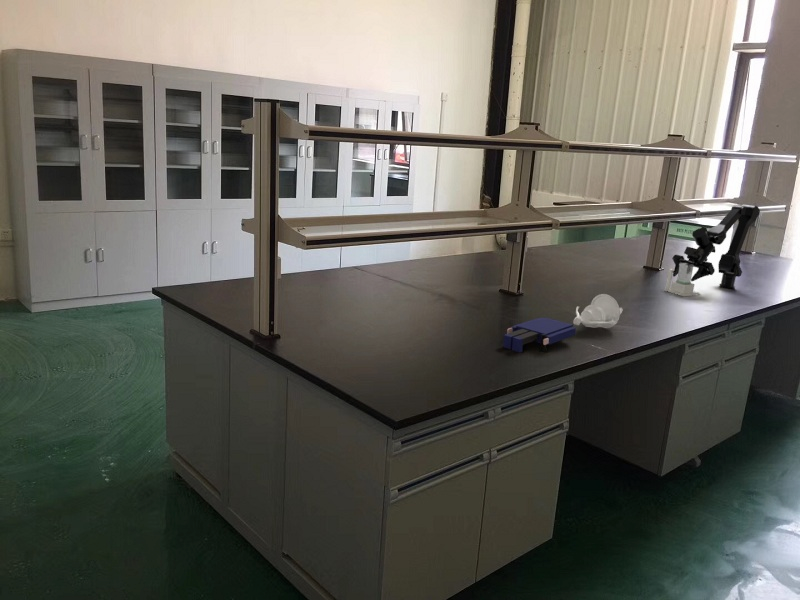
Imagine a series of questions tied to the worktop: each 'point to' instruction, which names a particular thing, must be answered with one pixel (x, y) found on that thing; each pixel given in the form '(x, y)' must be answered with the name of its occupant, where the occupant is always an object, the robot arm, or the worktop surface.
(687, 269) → the column
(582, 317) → the figurine
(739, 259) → the robot arm
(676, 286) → the stand
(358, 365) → the worktop surface
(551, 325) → the blue flat boxy piece
